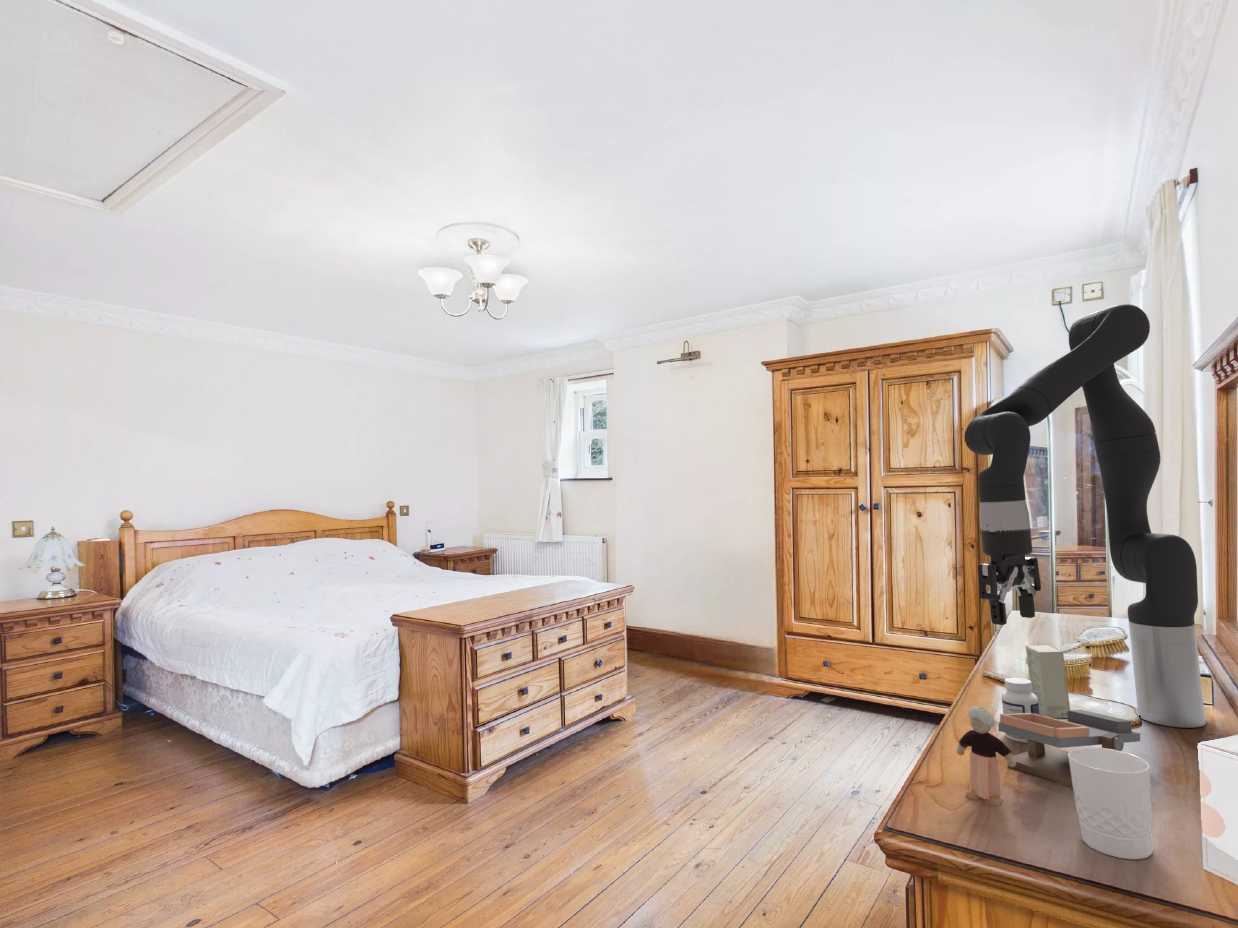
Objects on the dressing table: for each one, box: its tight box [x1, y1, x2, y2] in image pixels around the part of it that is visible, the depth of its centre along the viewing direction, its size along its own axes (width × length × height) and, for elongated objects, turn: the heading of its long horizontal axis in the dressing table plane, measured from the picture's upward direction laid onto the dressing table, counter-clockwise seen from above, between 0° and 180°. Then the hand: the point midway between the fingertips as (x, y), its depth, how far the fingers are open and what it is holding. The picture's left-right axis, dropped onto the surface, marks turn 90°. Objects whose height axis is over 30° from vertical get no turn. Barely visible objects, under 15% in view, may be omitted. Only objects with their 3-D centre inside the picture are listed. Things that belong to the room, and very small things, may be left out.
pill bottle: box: [1001, 677, 1041, 744], centre depth 111 cm, size 5×5×10 cm
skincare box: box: [1025, 644, 1071, 719], centre depth 123 cm, size 6×4×12 cm
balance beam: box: [997, 709, 1141, 749], centre depth 97 cm, size 22×8×3 cm, turn 118°
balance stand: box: [1007, 714, 1125, 788], centre depth 97 cm, size 10×14×7 cm
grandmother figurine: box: [956, 706, 1016, 807], centre depth 90 cm, size 8×4×13 cm, turn 50°
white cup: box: [1068, 746, 1153, 860], centre depth 78 cm, size 8×8×10 cm
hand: (1013, 620), depth 112 cm, fingers open, 8 cm apart
